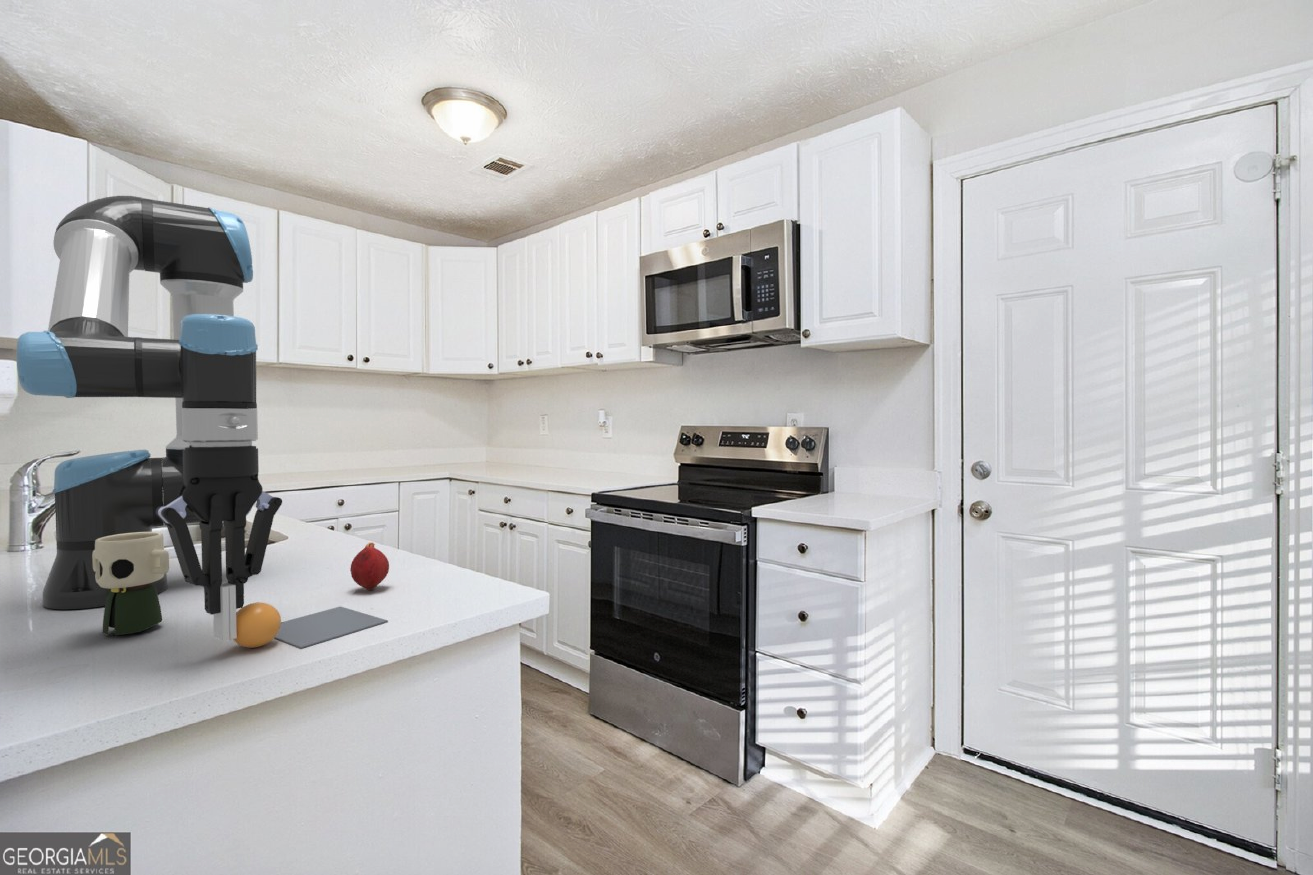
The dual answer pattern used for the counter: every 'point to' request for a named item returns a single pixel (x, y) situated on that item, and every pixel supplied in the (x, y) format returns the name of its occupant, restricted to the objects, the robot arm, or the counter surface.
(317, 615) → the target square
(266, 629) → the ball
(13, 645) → the counter surface
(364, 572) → the onion
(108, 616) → the character mug
